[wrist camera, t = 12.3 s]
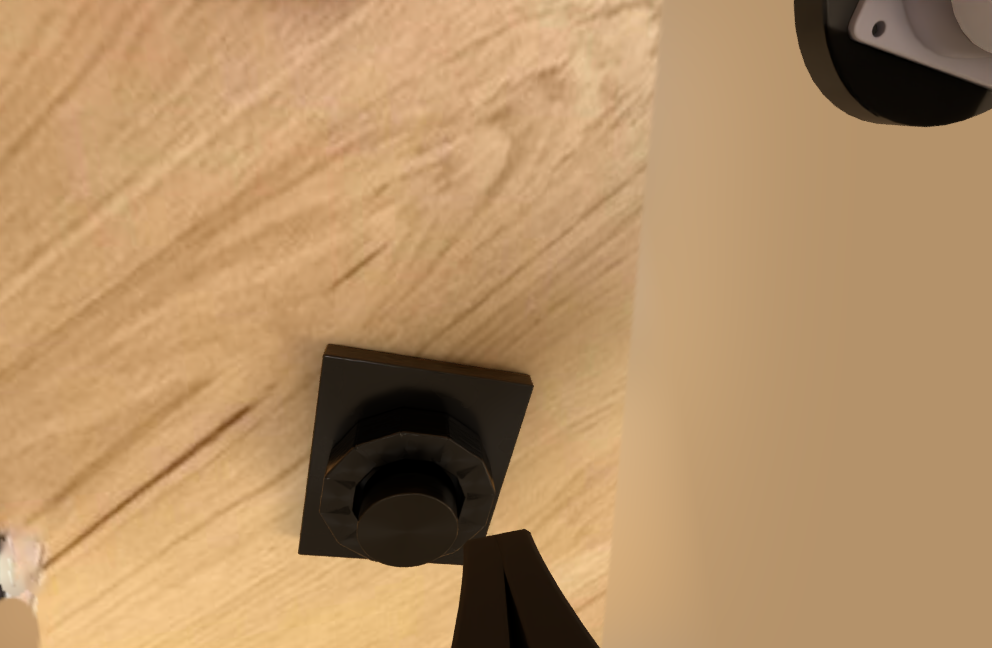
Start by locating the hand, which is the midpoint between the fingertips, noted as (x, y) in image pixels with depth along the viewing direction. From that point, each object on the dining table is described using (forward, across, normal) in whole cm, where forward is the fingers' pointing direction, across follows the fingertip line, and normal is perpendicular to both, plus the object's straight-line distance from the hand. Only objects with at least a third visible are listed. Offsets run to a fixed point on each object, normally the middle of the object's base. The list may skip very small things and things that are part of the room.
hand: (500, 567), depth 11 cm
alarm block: (+10, +3, +5) cm, 11 cm away
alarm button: (+8, +3, +5) cm, 10 cm away
